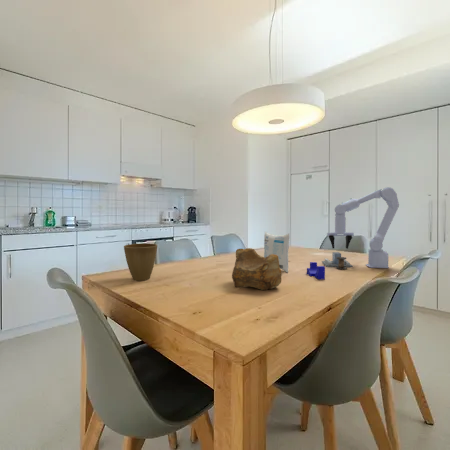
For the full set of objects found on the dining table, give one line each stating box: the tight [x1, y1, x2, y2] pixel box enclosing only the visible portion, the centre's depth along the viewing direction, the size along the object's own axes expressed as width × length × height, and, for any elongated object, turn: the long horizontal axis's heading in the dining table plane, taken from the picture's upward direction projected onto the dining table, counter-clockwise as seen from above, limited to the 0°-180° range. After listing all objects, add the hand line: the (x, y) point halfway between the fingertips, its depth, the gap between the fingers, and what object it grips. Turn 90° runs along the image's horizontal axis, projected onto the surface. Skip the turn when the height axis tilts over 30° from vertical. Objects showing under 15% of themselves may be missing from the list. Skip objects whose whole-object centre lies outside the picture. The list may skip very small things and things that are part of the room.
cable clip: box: [306, 261, 326, 280], centre depth 134 cm, size 12×4×6 cm, turn 1°
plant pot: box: [123, 242, 158, 282], centre depth 130 cm, size 15×15×16 cm
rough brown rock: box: [231, 247, 282, 291], centre depth 116 cm, size 23×17×15 cm
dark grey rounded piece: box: [335, 256, 347, 271], centre depth 152 cm, size 5×5×6 cm
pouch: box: [263, 231, 290, 274], centre depth 150 cm, size 8×19×20 cm, turn 28°
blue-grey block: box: [331, 251, 342, 264], centre depth 162 cm, size 4×6×6 cm, turn 171°
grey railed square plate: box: [321, 258, 354, 268], centre depth 163 cm, size 14×14×2 cm
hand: (340, 248), depth 164 cm, fingers open, 7 cm apart
